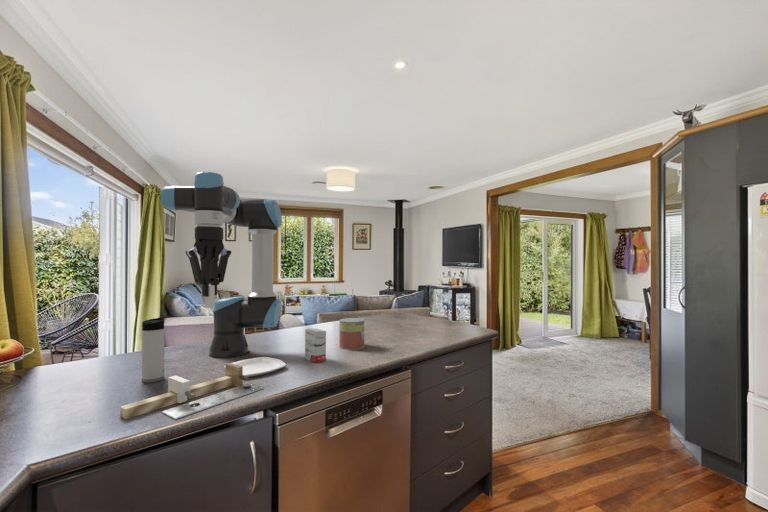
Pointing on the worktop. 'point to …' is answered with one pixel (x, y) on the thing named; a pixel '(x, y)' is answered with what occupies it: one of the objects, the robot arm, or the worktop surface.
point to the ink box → (315, 345)
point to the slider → (180, 388)
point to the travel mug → (153, 350)
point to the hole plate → (211, 401)
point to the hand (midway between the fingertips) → (209, 307)
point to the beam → (231, 378)
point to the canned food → (351, 333)
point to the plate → (259, 366)
